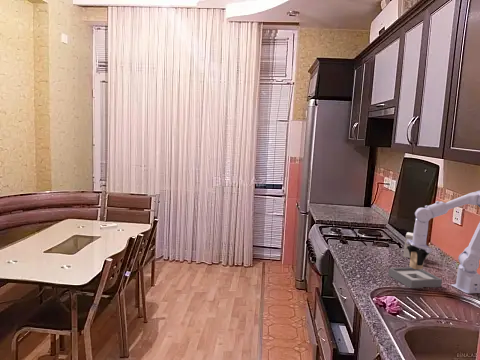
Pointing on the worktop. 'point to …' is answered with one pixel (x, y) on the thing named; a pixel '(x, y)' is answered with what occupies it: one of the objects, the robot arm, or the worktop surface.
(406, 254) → the supplement box
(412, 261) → the peg
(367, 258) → the worktop surface
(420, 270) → the hole box
